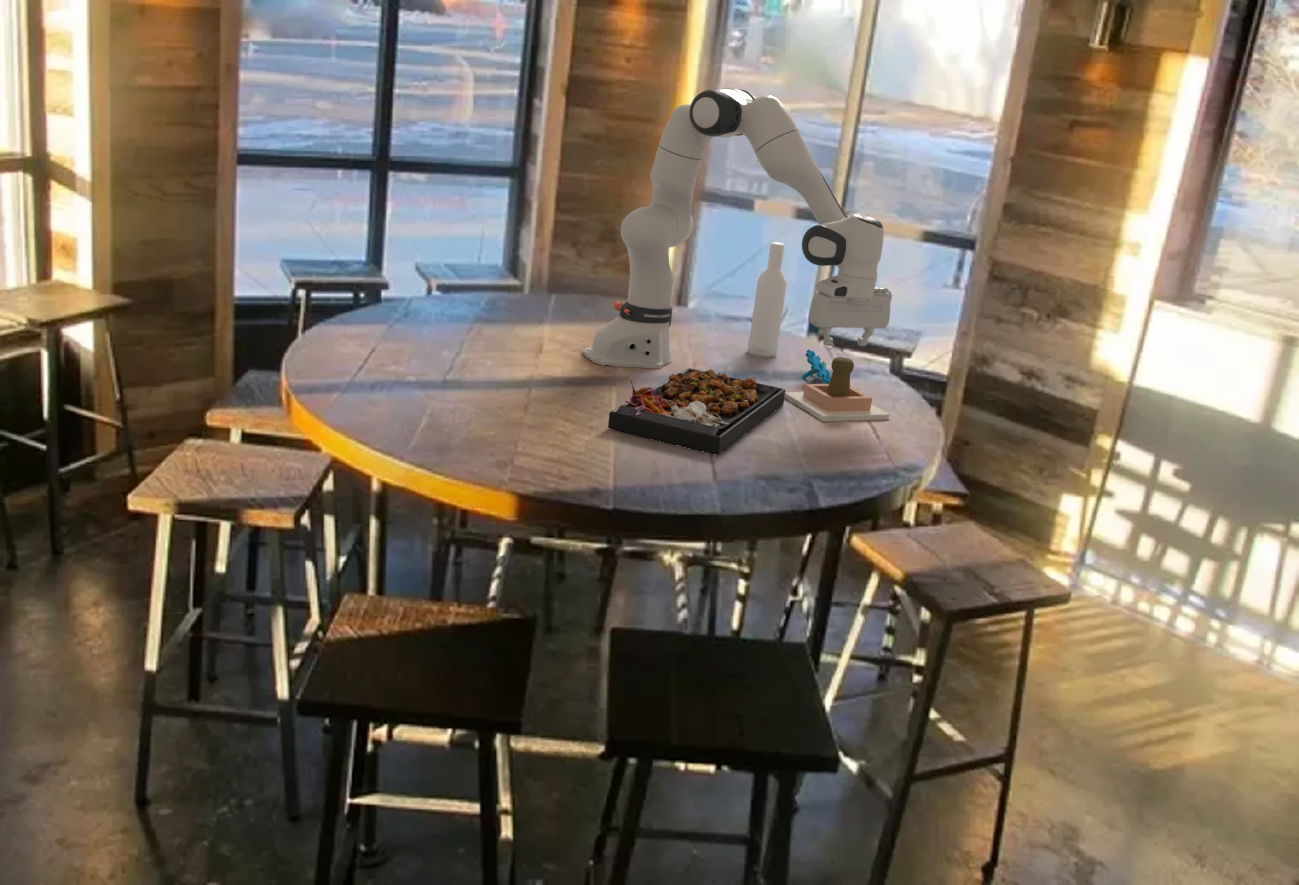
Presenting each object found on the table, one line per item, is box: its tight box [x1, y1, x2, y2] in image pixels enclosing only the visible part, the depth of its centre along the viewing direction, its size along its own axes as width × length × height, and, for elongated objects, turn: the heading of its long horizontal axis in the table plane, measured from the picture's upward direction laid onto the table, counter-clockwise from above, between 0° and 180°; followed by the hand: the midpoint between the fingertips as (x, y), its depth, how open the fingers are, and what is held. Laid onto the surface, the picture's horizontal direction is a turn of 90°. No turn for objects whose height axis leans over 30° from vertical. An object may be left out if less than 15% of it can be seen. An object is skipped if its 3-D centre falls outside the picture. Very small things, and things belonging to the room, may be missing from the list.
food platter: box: [607, 368, 786, 456], centre depth 270 cm, size 45×25×10 cm, turn 157°
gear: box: [801, 349, 831, 384], centre depth 311 cm, size 11×6×10 cm
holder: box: [784, 383, 891, 422], centre depth 288 cm, size 18×18×4 cm
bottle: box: [747, 241, 788, 358], centre depth 327 cm, size 8×8×30 cm
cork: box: [826, 356, 855, 397], centre depth 287 cm, size 6×6×11 cm
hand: (844, 345), depth 284 cm, fingers open, 8 cm apart
